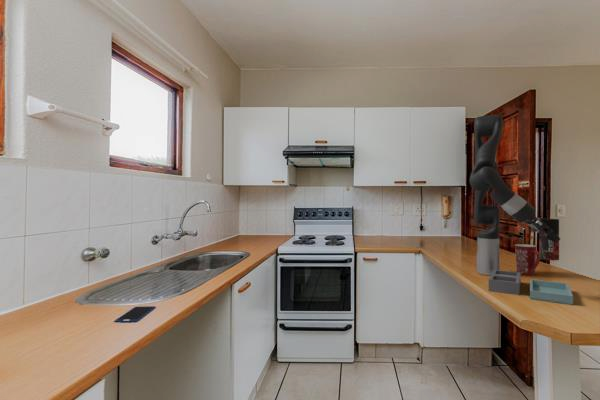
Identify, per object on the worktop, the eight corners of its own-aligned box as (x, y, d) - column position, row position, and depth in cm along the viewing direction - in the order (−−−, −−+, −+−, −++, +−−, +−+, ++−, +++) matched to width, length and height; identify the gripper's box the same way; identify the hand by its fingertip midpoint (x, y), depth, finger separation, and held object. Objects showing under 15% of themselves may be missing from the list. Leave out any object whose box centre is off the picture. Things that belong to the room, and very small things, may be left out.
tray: (573, 305, 110) (573, 296, 110) (530, 299, 117) (529, 290, 117) (567, 291, 126) (567, 283, 126) (530, 286, 133) (530, 279, 133)
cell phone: (112, 323, 98) (112, 321, 98) (135, 308, 112) (135, 306, 112) (137, 323, 98) (137, 321, 98) (157, 308, 112) (157, 306, 112)
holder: (519, 295, 122) (519, 283, 122) (488, 290, 128) (488, 279, 128) (520, 282, 139) (520, 272, 139) (493, 279, 145) (493, 269, 145)
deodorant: (552, 257, 125) (552, 218, 124) (563, 260, 119) (563, 219, 119) (535, 257, 125) (535, 218, 125) (545, 260, 119) (545, 219, 119)
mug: (510, 271, 161) (509, 244, 161) (527, 270, 162) (527, 243, 162) (528, 277, 149) (528, 248, 149) (548, 277, 149) (547, 247, 149)
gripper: (531, 201, 118) (571, 235, 114) (520, 200, 131) (555, 231, 127) (514, 215, 120) (553, 249, 115) (504, 213, 133) (539, 244, 129)
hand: (554, 239), depth 121 cm, fingers closed on deodorant, 6 cm apart
